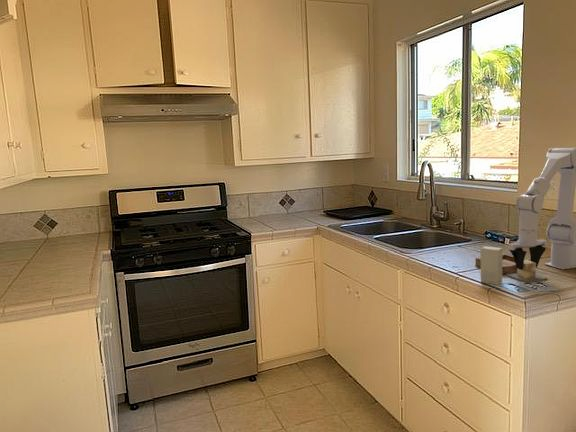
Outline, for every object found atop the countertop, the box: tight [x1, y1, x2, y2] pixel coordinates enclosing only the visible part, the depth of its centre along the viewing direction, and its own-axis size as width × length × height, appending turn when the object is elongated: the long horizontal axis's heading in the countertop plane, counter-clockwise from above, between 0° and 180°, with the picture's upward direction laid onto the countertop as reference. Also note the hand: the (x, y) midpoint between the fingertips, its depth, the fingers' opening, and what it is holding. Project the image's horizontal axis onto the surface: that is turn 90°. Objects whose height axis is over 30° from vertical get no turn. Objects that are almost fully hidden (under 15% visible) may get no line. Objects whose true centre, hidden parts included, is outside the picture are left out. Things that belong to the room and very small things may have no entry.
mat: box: [505, 273, 548, 284], centre depth 157 cm, size 9×9×1 cm
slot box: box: [474, 253, 517, 276], centre depth 170 cm, size 14×14×3 cm
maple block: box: [517, 259, 537, 278], centre depth 157 cm, size 4×4×5 cm
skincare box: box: [480, 245, 503, 286], centre depth 153 cm, size 6×4×12 cm
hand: (526, 267), depth 157 cm, fingers open, 6 cm apart
